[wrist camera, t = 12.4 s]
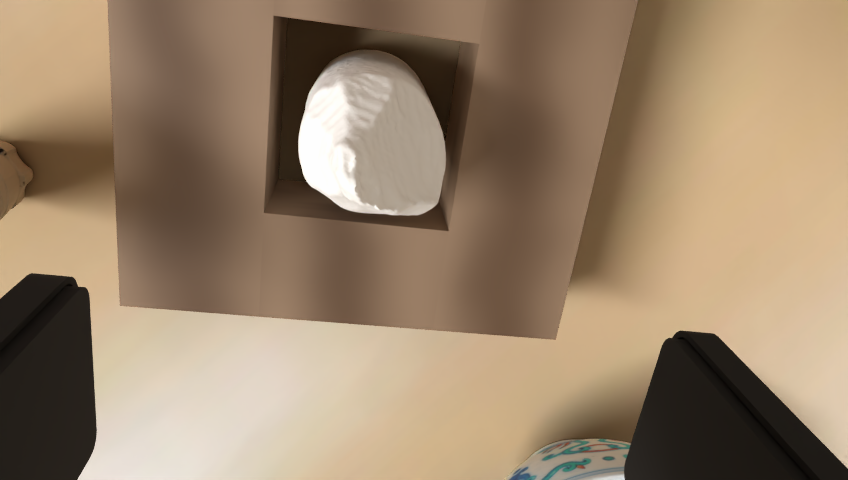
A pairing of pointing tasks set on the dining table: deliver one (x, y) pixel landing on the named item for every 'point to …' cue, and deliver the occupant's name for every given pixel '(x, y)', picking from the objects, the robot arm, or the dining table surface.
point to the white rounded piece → (372, 136)
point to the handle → (12, 178)
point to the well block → (317, 214)
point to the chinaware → (575, 461)
